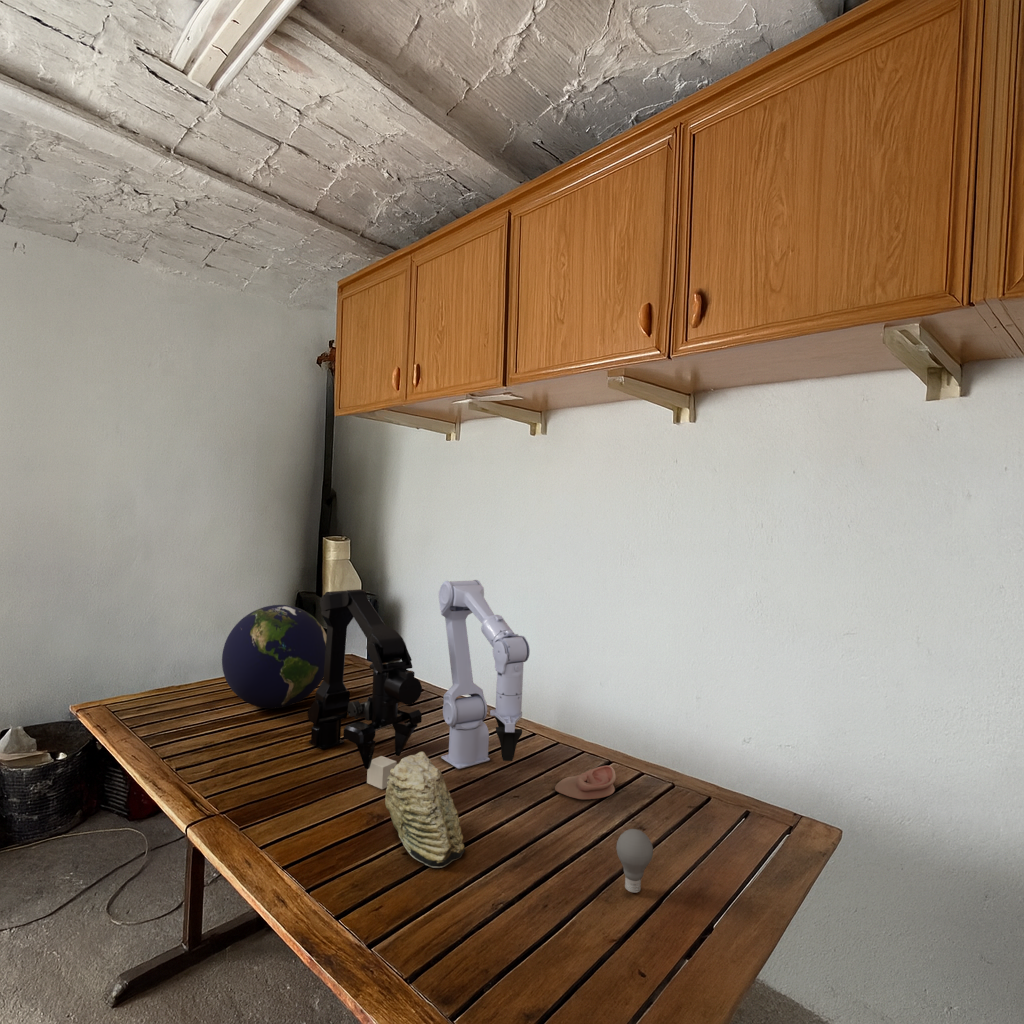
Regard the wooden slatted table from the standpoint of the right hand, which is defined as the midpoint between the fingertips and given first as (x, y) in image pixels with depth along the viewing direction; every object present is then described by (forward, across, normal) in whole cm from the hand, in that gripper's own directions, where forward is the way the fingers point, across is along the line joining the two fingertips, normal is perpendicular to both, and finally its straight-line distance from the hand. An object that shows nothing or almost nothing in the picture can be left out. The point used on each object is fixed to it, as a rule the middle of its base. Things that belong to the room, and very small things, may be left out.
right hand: (506, 753), depth 139 cm
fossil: (+9, +21, -16) cm, 28 cm away
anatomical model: (+9, -2, +18) cm, 20 cm away
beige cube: (+9, -4, -28) cm, 29 cm away
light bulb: (+9, +35, +20) cm, 41 cm away
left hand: (+4, -3, -27) cm, 28 cm away
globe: (+9, -53, -66) cm, 85 cm away
